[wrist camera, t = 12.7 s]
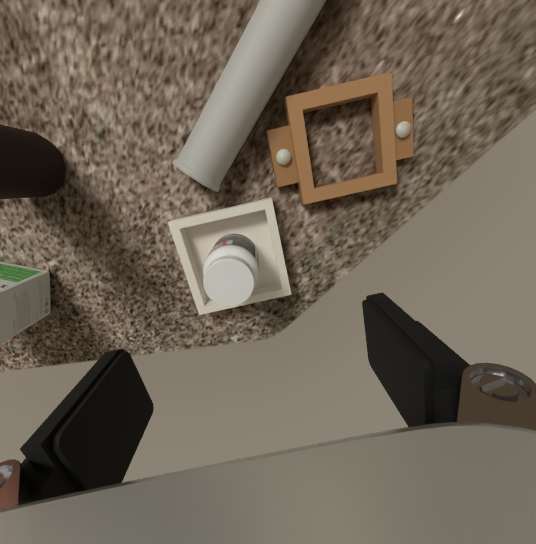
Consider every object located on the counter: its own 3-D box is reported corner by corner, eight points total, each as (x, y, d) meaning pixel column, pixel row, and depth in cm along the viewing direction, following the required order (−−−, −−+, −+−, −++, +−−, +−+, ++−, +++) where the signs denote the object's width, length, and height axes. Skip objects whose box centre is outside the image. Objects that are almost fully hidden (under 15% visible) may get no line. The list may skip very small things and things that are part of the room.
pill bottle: (203, 246, 33) (184, 270, 23) (244, 224, 32) (240, 240, 23) (227, 283, 34) (217, 321, 25) (265, 264, 34) (270, 294, 24)
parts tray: (270, 197, 32) (271, 198, 29) (288, 287, 36) (291, 294, 33) (174, 219, 32) (167, 222, 30) (202, 306, 36) (199, 314, 33)
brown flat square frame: (405, 73, 28) (415, 66, 27) (409, 178, 32) (418, 178, 30) (261, 107, 29) (261, 102, 27) (281, 208, 32) (282, 209, 31)
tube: (309, -131, 21) (163, 158, 26) (367, -101, 20) (205, 187, 26) (312, -57, 26) (189, 171, 31) (358, -32, 25) (225, 195, 31)
